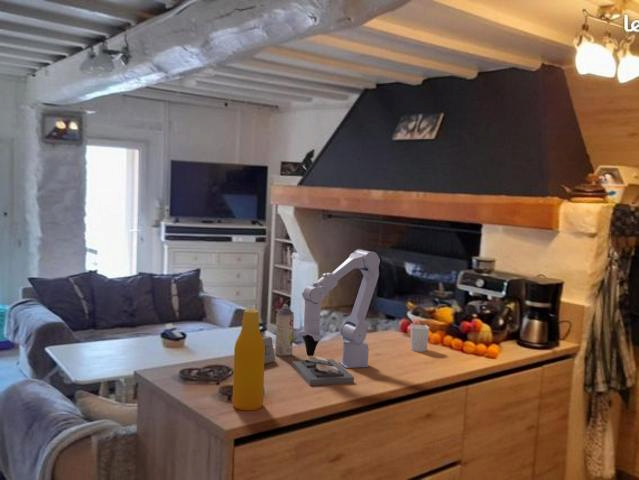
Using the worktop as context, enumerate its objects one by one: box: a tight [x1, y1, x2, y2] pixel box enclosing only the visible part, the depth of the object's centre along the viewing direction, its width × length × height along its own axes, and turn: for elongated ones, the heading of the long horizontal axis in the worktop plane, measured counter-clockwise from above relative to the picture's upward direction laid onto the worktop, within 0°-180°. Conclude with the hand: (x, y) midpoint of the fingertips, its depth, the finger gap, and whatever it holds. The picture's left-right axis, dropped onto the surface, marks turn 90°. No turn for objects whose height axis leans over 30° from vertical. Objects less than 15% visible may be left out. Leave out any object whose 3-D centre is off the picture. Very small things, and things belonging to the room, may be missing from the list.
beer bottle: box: [231, 309, 265, 411], centre depth 179 cm, size 9×9×29 cm
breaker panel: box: [291, 358, 355, 386], centre depth 214 cm, size 16×22×4 cm
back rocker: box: [306, 354, 328, 364], centre depth 219 cm, size 7×4×2 cm, turn 108°
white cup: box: [410, 324, 430, 353], centre depth 253 cm, size 8×8×10 cm
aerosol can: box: [274, 304, 295, 358], centre depth 236 cm, size 7×7×20 cm
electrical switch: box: [262, 336, 276, 365], centre depth 225 cm, size 9×5×9 cm, turn 141°
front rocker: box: [316, 364, 339, 373], centre depth 208 cm, size 7×4×2 cm, turn 108°
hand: (310, 355), depth 218 cm, fingers closed
